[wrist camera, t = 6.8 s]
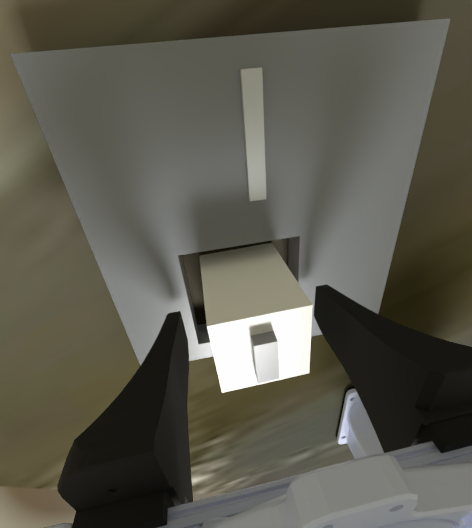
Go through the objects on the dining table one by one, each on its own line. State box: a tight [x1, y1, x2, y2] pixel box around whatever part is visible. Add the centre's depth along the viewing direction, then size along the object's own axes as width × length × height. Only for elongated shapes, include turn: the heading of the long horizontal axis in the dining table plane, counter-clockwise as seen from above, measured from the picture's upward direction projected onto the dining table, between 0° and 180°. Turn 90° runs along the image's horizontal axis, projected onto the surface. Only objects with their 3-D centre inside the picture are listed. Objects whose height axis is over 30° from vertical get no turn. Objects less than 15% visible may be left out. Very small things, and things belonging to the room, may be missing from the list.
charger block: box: [199, 243, 313, 393], centre depth 14 cm, size 4×4×7 cm
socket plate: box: [10, 18, 451, 365], centre depth 14 cm, size 16×16×2 cm
